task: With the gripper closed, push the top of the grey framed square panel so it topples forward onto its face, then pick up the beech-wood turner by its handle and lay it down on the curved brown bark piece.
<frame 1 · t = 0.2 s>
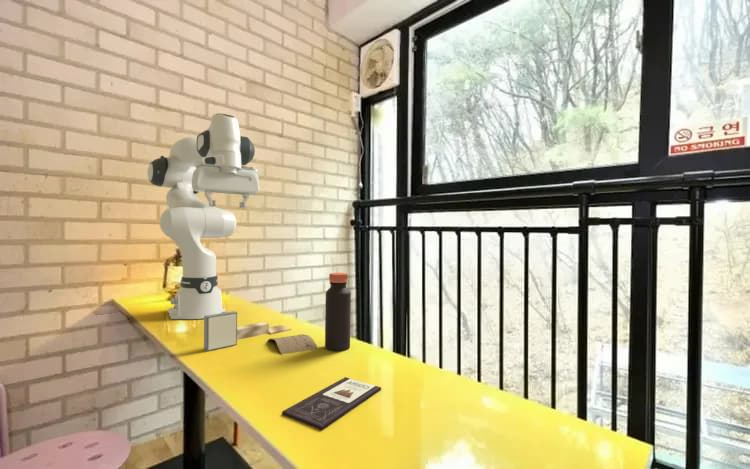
hand: (227, 207, 116), 38 cm above the table, tool pointing down, fingers open, 8 cm apart
bottle: (337, 348, 100), on the table
turner: (250, 335, 110), on the table
curved brown bark piece: (291, 348, 101), on the table
chocolate bar: (335, 404, 68), on the table
grey framed square panel: (220, 347, 98), on the table
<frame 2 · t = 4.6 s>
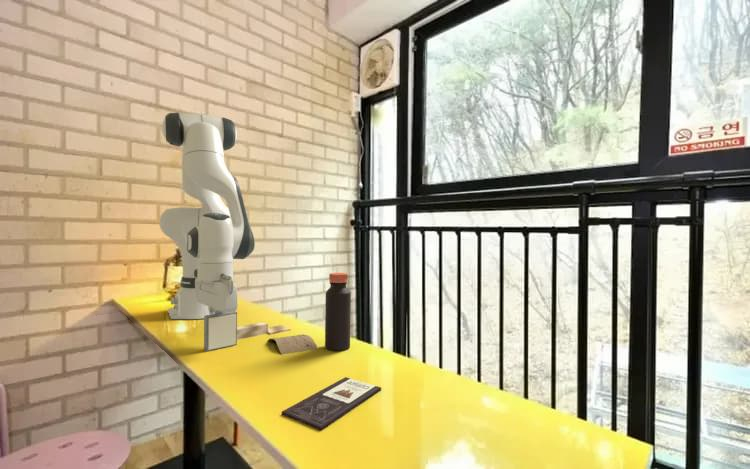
hand: (215, 323, 100), 6 cm above the table, tool pointing down, fingers closed
grey framed square panel: (220, 347, 98), on the table, touching gripper
everything else where it was.
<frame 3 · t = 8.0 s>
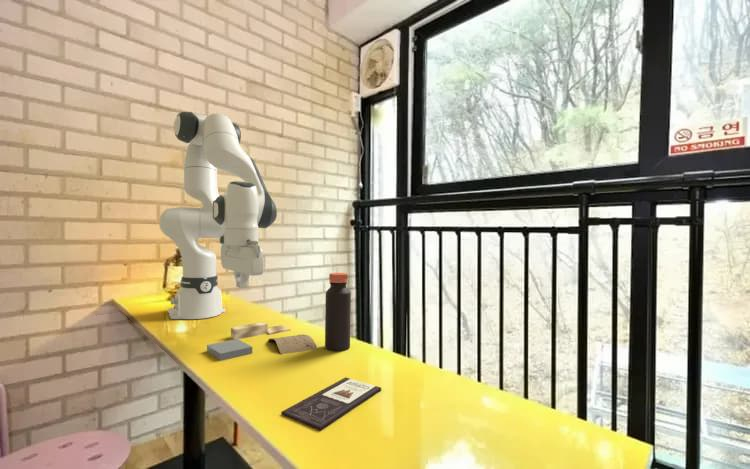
hand: (241, 287, 104), 15 cm above the table, tool pointing down, fingers closed
grey framed square panel: (222, 345, 98), point 1 cm above the table, tilted 90°
everything else where it was.
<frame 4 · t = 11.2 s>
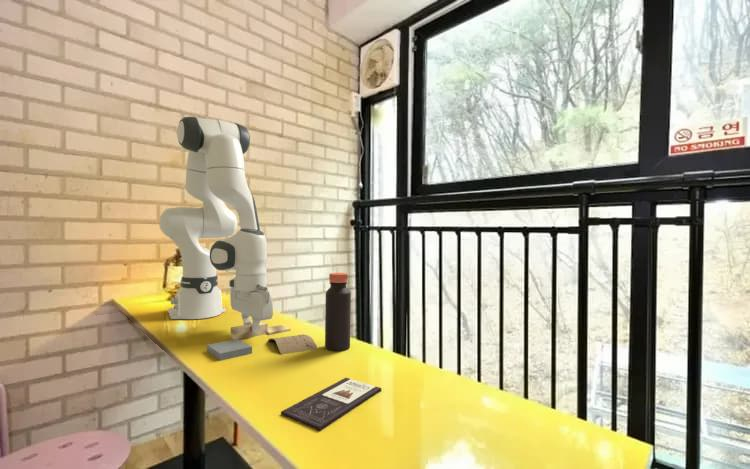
hand: (250, 329, 109), 2 cm above the table, tool pointing down, fingers closed on turner, 3 cm apart
turner: (249, 335, 109), on the table, touching gripper
everything else where it was.
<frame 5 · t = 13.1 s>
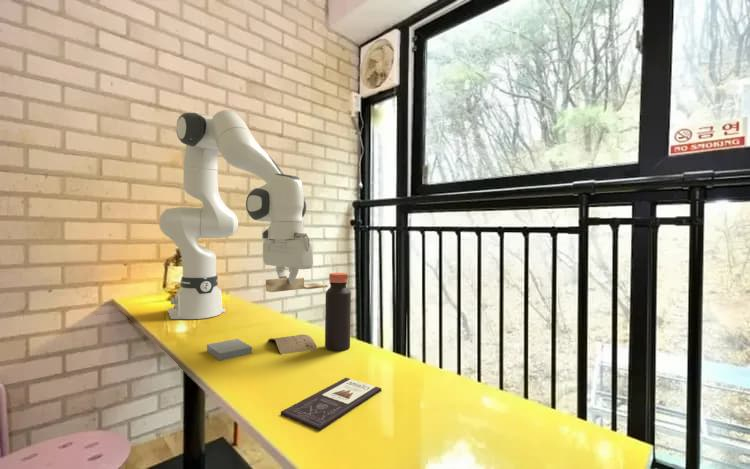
hand: (286, 283, 101), 17 cm above the table, tool pointing down, fingers closed on turner, 3 cm apart
turner: (285, 289, 100), point 15 cm above the table, touching gripper
everything else where it was.
when the fingers open (5 cm above the table, at t = 15.5 s): turner drops 1 cm, point 2 cm above the table.
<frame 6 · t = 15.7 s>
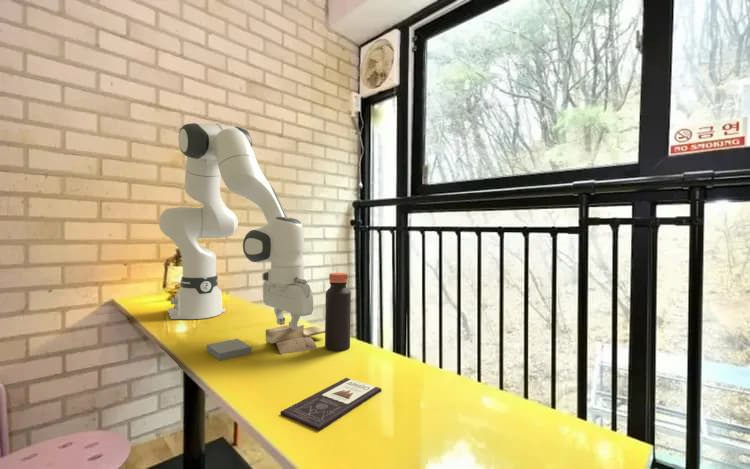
hand: (286, 326, 101), 5 cm above the table, tool pointing down, fingers open, 5 cm apart
turner: (285, 338, 101), point 2 cm above the table
everything else where it was.
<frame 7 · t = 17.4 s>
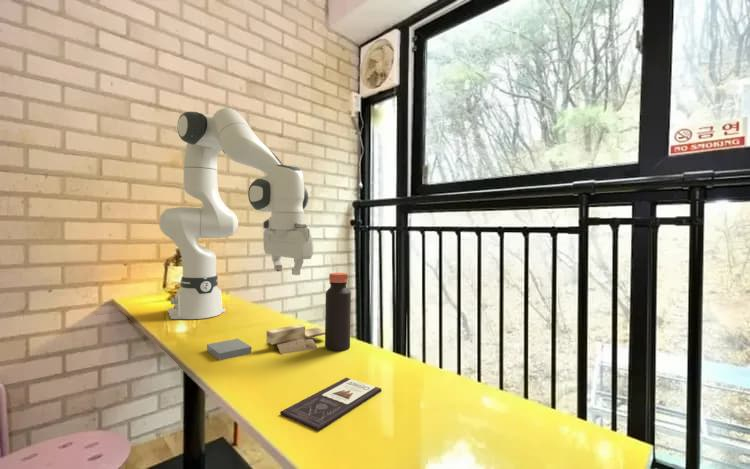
hand: (286, 272, 103), 20 cm above the table, tool pointing down, fingers open, 8 cm apart
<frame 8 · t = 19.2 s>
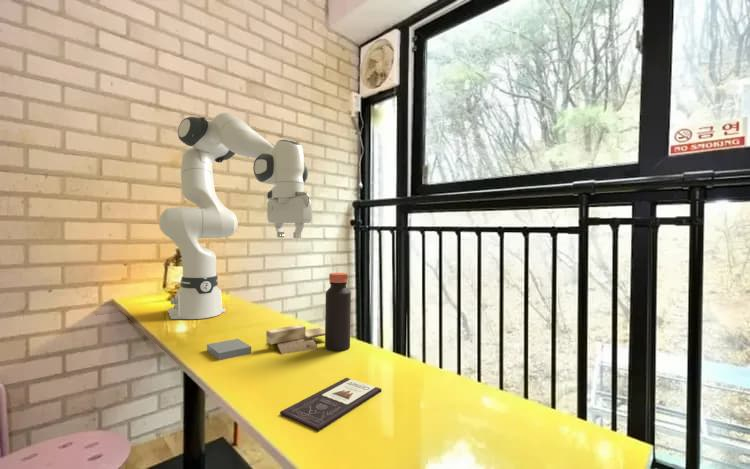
hand: (288, 237, 113), 29 cm above the table, tool pointing down, fingers open, 8 cm apart
at the end: grey framed square panel tilted 90°; turner inside the target area on the curved brown bark piece (1.9 cm from its centre), point 2.9 cm above the curved brown bark piece's base; the gripper is holding nothing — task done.
